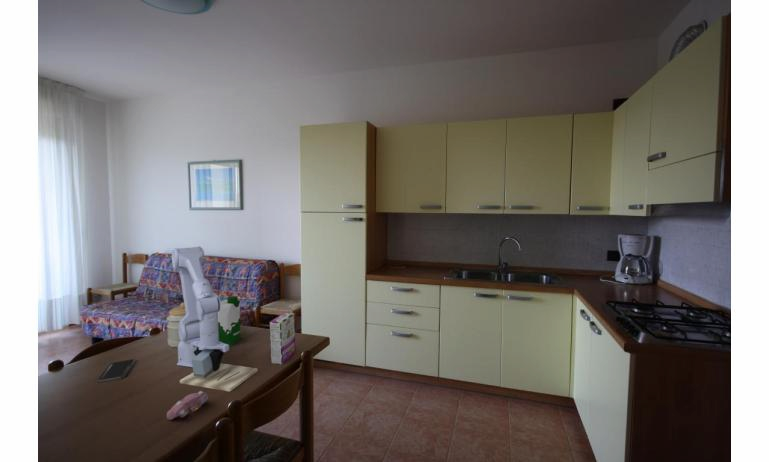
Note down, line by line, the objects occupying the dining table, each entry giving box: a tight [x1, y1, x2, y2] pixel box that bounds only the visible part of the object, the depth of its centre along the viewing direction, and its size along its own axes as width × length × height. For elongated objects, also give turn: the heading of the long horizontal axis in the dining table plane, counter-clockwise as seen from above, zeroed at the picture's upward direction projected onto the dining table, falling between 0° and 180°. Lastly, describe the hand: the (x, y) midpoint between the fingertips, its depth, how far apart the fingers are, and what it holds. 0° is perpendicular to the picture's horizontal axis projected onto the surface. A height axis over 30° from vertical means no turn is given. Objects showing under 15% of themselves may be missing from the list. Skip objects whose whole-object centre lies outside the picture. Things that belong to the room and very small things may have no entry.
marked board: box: [179, 362, 258, 392], centre depth 116 cm, size 20×14×1 cm
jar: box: [166, 301, 199, 348], centre depth 147 cm, size 13×13×18 cm
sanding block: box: [191, 349, 214, 377], centre depth 115 cm, size 4×8×6 cm, turn 170°
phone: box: [97, 358, 136, 383], centre depth 121 cm, size 8×1×15 cm
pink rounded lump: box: [166, 390, 209, 421], centre depth 95 cm, size 10×5×7 cm, turn 149°
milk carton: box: [217, 295, 242, 346], centre depth 147 cm, size 9×9×20 cm
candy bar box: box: [269, 312, 297, 365], centre depth 131 cm, size 11×5×16 cm, turn 168°
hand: (210, 369), depth 117 cm, fingers closed on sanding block, 4 cm apart
